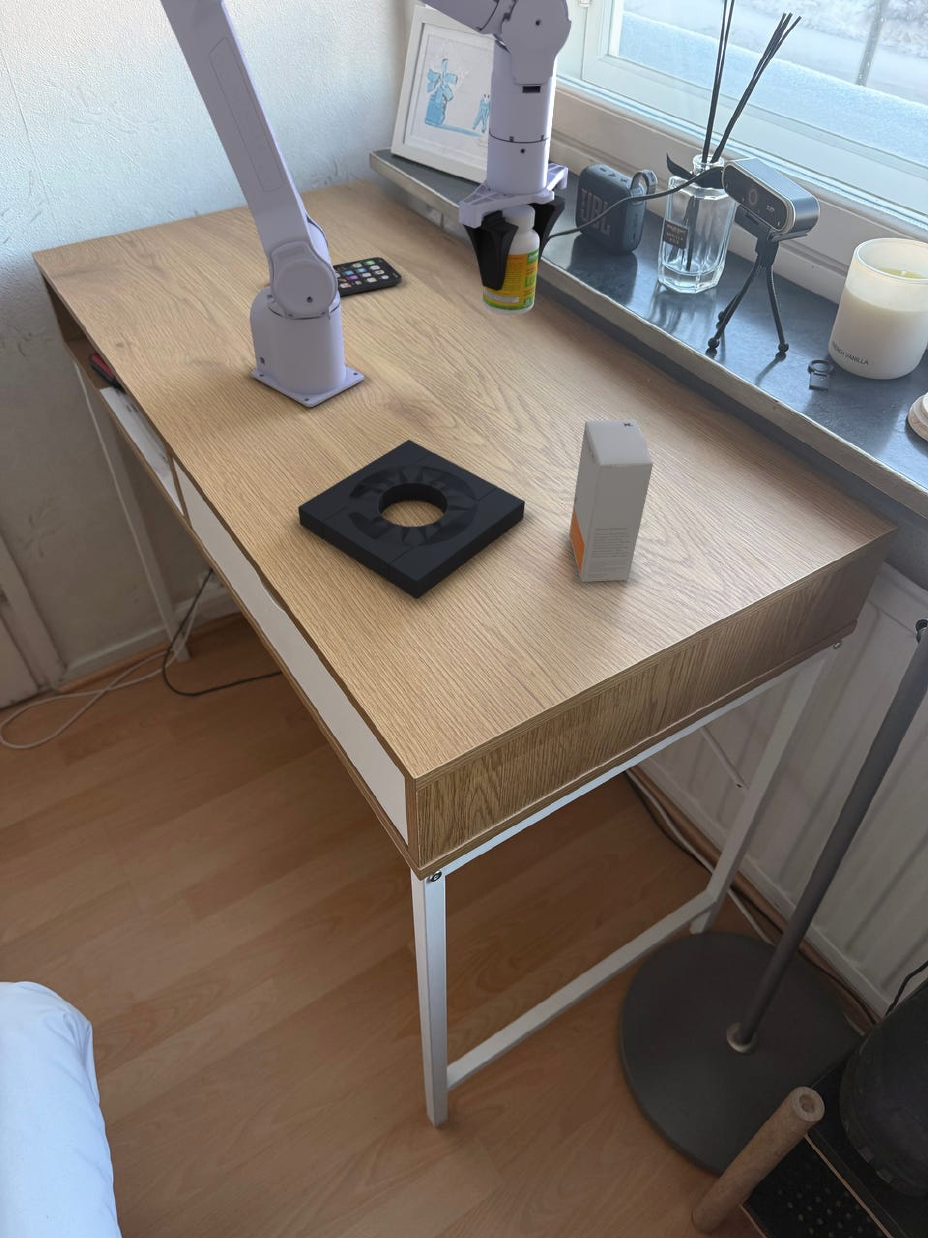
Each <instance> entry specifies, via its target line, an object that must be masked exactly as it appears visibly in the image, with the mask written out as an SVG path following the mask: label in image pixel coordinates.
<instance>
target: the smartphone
mask: <svg viewBox="0 0 928 1238" xmlns="http://www.w3.org/2000/svg"><path fill="white" fill-rule="evenodd" d="M332 267H333V269H334V271H335V273H336V276H337V281H338V289H337V290H338V292H339V294H340V297H342V296H347V295H352V294H356V293H360V292H361V293H362V292H366V291H371V290H374V289H375V290H376V289H380V288H385V287H390V286H395V285H398V284H401V283H402V282H403V276H402V275H401V274H400V273H399V272H398V271H397V270H396V269H395V268H394V267H393V266H392V265H391V264H390V263H389V262H388V261H387V260H385V258H383V257H378V256H374V257H370V258H365V259H359V260H353V261H349V262H344V263H339V264H334V265H333V264H332Z"/></svg>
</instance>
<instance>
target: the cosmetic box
mask: <svg viewBox="0 0 928 1238" xmlns="http://www.w3.org/2000/svg"><path fill="white" fill-rule="evenodd" d="M580 449H581V450H580V457H579V463H578V470H577V476H576V484H575V492H574V500H573V506H572V513H571V521H570V527H569V533H568V538H569V540H570V544H571V547H572V551H573V555H574V558H575V562H576V563H575V564H576V566H577V567H576V568H577V572H578V576H579V580H580V582H582V583H591V582H593V583H594V582H609V581H610V582H614V581H628V580H629V578H630V573H631V569H632V565H633V559H634V555H635V550H636V545H637V541H638V536H639V531H640V528H641V523H642V517H643V513H644V510H645V509H644V508H645V504H646V499H647V495H648V491H649V486H650V479H651V475H652V472H653V471H652V470H653V467H654V462H653V460H652V457H651V455H650V452H649V450H648V446H647V442H646V439H645V437H644V436H643V433H642V431H641V429H640V426H639V424H638V421H637V420H636V419H606V420H605V419H604V420H601V419H600V420H586V421H585V422H584V428H583V436H582V442H581V448H580Z"/></svg>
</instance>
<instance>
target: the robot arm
mask: <svg viewBox="0 0 928 1238" xmlns="http://www.w3.org/2000/svg"><path fill="white" fill-rule="evenodd" d="M418 1H419V2H421V3H422V4H425V5H426V6H428V7H431V8H432V9H434V10H436V11H438V12H440V13H441V14H443V15H445V16H447V17H449V18H450V19H453V20H454V21H455V22H458V23H460V24H461V25H464V26H465V27H467V28H469V29H471V30H473V31H475V32H476V33H478V34H480V35H492V37H493V39H494V41H493V58H492V71H491V76H490V95H489V96H490V97H489V98H490V100H489V116H488V117H489V119H488V135H487V158H486V159H487V161H486V178H485V180H484V181H482V183H480V184H479V186H478V187H477V188H475V189H474V191H473V192H471V193H470V194H469V195H468V196H467V197H466V198H464V199H461V200H460V201H459V202H458V224H461V225H462V226H463V228H464V229H465V231H466V233H467V236H468V237H469V239H470V242H471V244H472V247H473V250H474V253H475V257H476V260H477V261H476V262H477V265H478V269H479V275H480V280H481V284H482V286H485V287H488V288H490V289H493V290H495V291H499V290H501V289H502V286H503V283H504V279H505V272H506V265H507V258H508V254H509V250H510V247H511V244H512V241H513V239H514V236H515V234H516V232H517V230H518V229H519V227H518V226H517V225H514V224H511V223H508V222H506V221H505V217H502V214H503V211H505V210H508V209H510V208H512V207H514V206H519V205H525V204H527V205H529V206H531V207H533V208H534V210H535V218H534V226H533V227H532V229H533V230H535V231H536V233H537V234H538V236H539V253H538V264H537V269H538V267H539V265H540V262H541V260H542V257H543V253H544V250H545V247H546V245H547V241H548V239H549V237H550V234H551V232H552V231H553V229H554V227H555V224H556V223H557V221H558V219H559V218H560V216H561V215H562V214H563V212H564V211H565V209H566V199H565V198H564V197H562V196H560V195H556V194H555V190H558V191H562V190H565V189H566V188H567V184H568V183H567V182H568V173H569V167H566V166H564V165H560V164H557V163H554V162H551V163H549V155H550V146H551V145H550V144H551V134H552V123H553V113H554V102H555V93H556V83H557V77H556V75H557V64H558V55H559V53H560V52H561V51H562V49H563V48H564V46H565V45H566V43H567V42H568V39H569V37H570V34H571V31H572V27H573V26H572V25H573V21H572V20H571V19H570V18H569V6H568V3H567V0H418ZM159 2H160V4H161V6H162V8H163V10H164V13H165V16H166V18H167V20H168V21H169V22H168V23H169V24H170V26H171V29H172V31H173V34H174V36H175V39H176V41H177V43H178V45H179V48H180V50H181V52H182V55H183V57H184V59H185V61H186V65H187V66H188V69H189V71H190V73H191V76H192V78H193V80H194V83H195V85H196V87H197V91H198V92H199V94H200V97H201V99H202V101H203V104H204V106H205V108H206V111H207V113H208V115H209V118H210V120H211V122H212V125H213V127H214V129H215V132H216V134H217V136H218V138H219V142H220V143H221V145H222V148H223V150H224V152H225V155H226V157H227V159H228V162H229V164H230V166H231V169H232V171H233V173H234V176H235V178H236V180H237V183H238V185H239V188H240V190H241V192H242V194H243V197H244V200H245V201H246V204H247V206H248V209H249V211H250V213H251V216H252V218H253V220H254V224H255V228H256V231H257V234H258V236H259V240H260V244H261V246H262V249H263V253H264V254H265V257H266V259H267V267H268V274H269V285H268V286H266V287H264V288H263V289H262V290H260V291H259V292H258V293H257V295H256V296H255V297H254V298H253V300H252V303H251V306H250V309H249V310H250V311H249V325H250V330H251V337H252V338H251V339H252V345H253V350H254V357H255V362H256V369H253V370H252V371H251V372H250V374H251V377H252V378H254V379H255V380H258V381H260V382H261V383H263V384H265V385H267V386H269V387H270V388H272V389H274V390H275V391H278V392H280V393H282V394H283V395H285V396H287V397H289V398H290V399H292V400H294V401H296V402H298V403H299V404H301V405H303V406H305V407H307V408H313V407H315V406H317V405H319V404H321V403H323V402H324V401H326V400H328V399H330V398H332V397H334V396H336V395H337V394H340V393H342V392H343V391H345V390H347V389H349V388H351V387H353V386H354V385H357V384H358V383H360V382H362V381H363V380H364V378H365V377H364V374H363V373H361V372H359V371H357V370H355V369H353V368H351V367H349V366H347V365H346V357H345V345H344V332H343V319H342V305H341V296H340V294H339V292H338V290H337V289H338V281H337V276H336V273H335V271H334V269H333V267H332V266H333V264H332V260H331V257H330V252H329V242H328V239H327V236H326V233H325V231H324V230H323V229H322V227H321V226H320V225H319V224H318V223H317V222H316V221H315V220H313V219H312V217H310V214H309V213H308V212H307V210H306V207H305V205H304V202H303V200H302V197H301V195H300V193H299V192H298V190H297V187H296V186H295V183H294V180H293V176H292V175H291V173H290V170H289V167H288V165H287V162H286V158H285V156H284V154H283V151H282V148H281V146H280V144H279V141H278V139H277V136H276V133H275V131H274V128H273V124H272V123H271V120H270V118H269V115H268V112H267V110H266V107H265V105H264V102H263V99H262V96H261V94H260V92H259V88H258V86H257V84H256V81H255V78H254V75H253V73H252V71H251V67H250V66H249V63H248V60H247V58H246V54H245V52H244V50H243V47H242V44H241V42H240V39H239V37H238V34H237V32H236V29H235V26H234V24H233V21H232V19H231V16H230V13H229V9H228V8H227V5H226V3H225V0H159Z"/></svg>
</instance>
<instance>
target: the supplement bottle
mask: <svg viewBox="0 0 928 1238" xmlns="http://www.w3.org/2000/svg"><path fill="white" fill-rule="evenodd" d="M502 217H505V221H506V222H508V223H511V224H514V225H517V226H518V227H519V229H518V230H517V232H516V234H515V236H514V239H513V241H512V244H511V247H510V250H509V254H508V258H507V265H506V272H505V279H504V283H503V286H502V289H501V290H499V291H495V290H493V289H490V288H488V287H485V286H483V285H482V286H483V288H482V303H483V305H484V307H485V308H486V309H487V310H488V311H490V312H492V313H495V314H496V315H497V314H498V315H502V316H517V315H524V314H526V313H527V312H529V311H530V310H532V308H533V307H534V304H535V294H536V285H537V274H538V268H537V264H538V253H539V236H538V234H537V233H536V231H535V230H533V229H532V227H533V226H534V218H535V210H534V208H533V207H531V206H529V205H527V204H525V205H519V206H514V207H512V208H510V209H508V210H505V211H503V214H502Z"/></svg>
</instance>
